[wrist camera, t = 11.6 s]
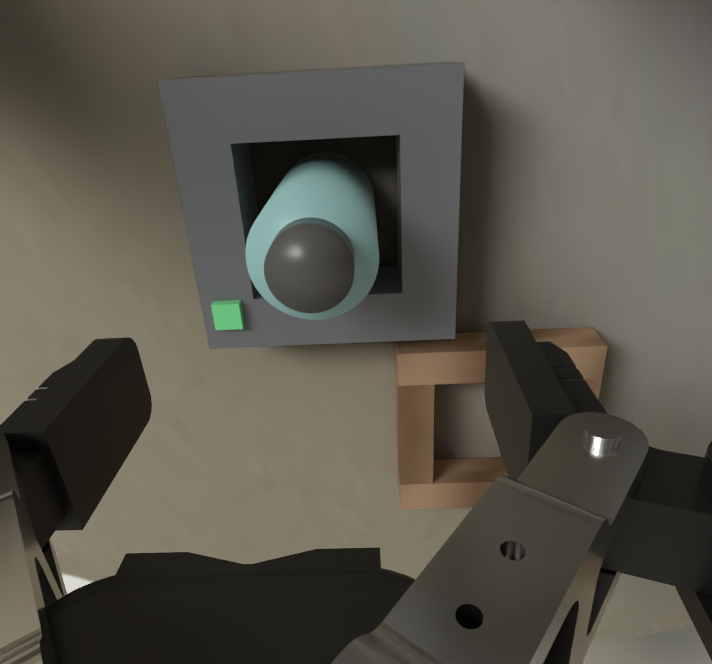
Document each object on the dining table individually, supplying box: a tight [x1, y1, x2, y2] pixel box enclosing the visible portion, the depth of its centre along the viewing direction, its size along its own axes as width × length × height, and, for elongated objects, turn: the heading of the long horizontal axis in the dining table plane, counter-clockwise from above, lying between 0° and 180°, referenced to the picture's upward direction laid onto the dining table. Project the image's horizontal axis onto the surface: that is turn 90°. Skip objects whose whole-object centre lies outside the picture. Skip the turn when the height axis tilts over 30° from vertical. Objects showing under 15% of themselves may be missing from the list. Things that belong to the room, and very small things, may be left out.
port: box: [157, 62, 464, 349], centre depth 23 cm, size 11×11×4 cm
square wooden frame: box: [395, 327, 608, 509], centre depth 29 cm, size 10×10×2 cm
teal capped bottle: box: [245, 152, 379, 320], centre depth 21 cm, size 4×4×9 cm
